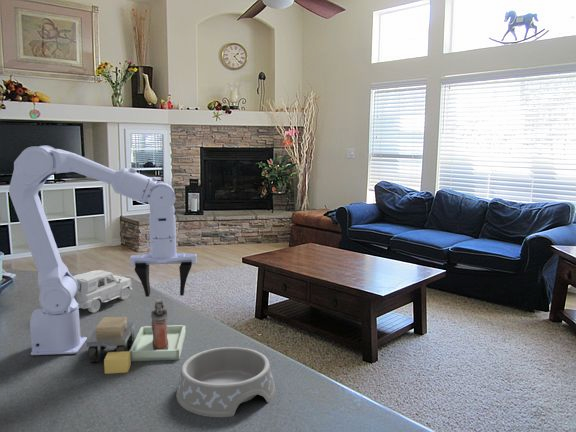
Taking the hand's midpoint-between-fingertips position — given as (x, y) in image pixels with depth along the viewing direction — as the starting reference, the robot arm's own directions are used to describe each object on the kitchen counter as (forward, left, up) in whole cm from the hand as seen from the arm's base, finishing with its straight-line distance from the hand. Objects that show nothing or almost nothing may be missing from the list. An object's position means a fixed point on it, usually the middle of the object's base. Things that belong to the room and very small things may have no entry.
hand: (165, 294), depth 114 cm
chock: (-8, -15, -11) cm, 20 cm away
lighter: (-1, -6, -10) cm, 11 cm away
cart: (-11, -7, -10) cm, 16 cm away
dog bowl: (+14, -25, -11) cm, 31 cm away
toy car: (-22, +25, -11) cm, 35 cm away
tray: (-1, -5, -10) cm, 11 cm away
